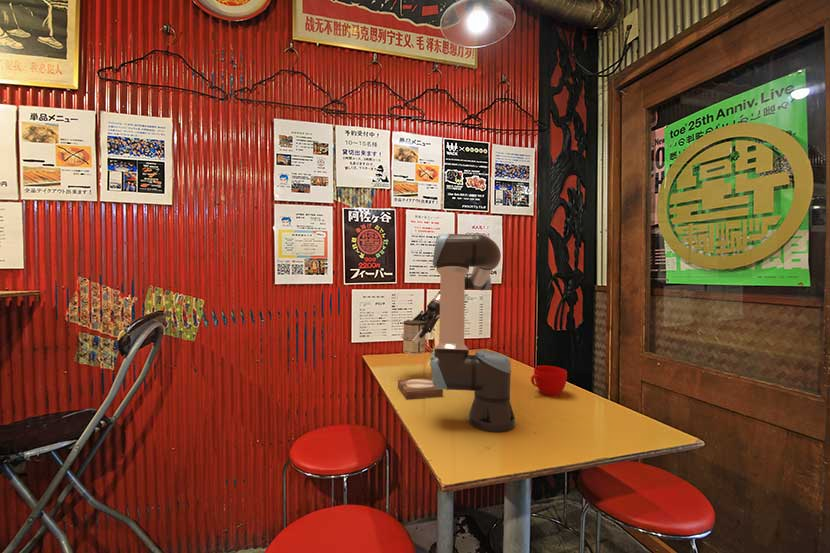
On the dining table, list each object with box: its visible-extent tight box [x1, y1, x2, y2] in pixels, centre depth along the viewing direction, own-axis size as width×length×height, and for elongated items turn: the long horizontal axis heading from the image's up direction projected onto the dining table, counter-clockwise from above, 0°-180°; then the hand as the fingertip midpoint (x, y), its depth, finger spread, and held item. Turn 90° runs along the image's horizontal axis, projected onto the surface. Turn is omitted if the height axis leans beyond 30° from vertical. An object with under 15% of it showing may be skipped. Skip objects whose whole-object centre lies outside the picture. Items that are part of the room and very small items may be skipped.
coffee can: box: [402, 319, 426, 355], centre depth 164 cm, size 10×10×14 cm
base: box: [397, 377, 444, 400], centre depth 147 cm, size 15×15×3 cm
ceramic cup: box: [530, 365, 568, 397], centre depth 148 cm, size 13×17×10 cm
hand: (408, 340), depth 163 cm, fingers closed on coffee can, 10 cm apart
